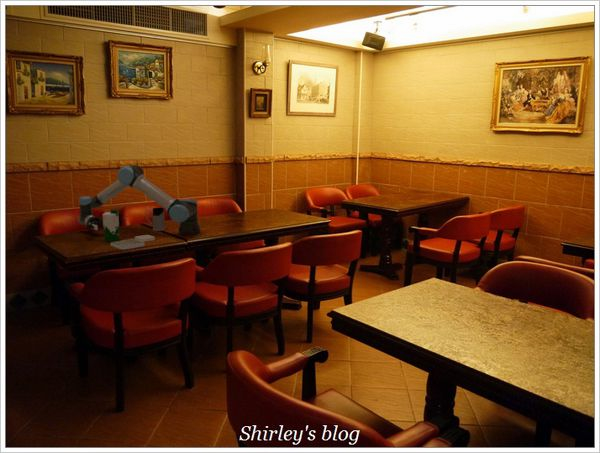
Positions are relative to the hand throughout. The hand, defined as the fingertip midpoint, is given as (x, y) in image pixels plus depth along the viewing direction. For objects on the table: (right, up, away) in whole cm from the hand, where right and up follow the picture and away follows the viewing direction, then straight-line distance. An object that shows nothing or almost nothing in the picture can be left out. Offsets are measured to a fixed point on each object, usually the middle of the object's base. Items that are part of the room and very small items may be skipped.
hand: (107, 226), depth 328 cm
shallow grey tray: (+18, -12, -13) cm, 25 cm away
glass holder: (+21, -2, +36) cm, 41 cm away
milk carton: (+3, -9, -1) cm, 10 cm away
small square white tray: (+23, -9, +2) cm, 25 cm away
